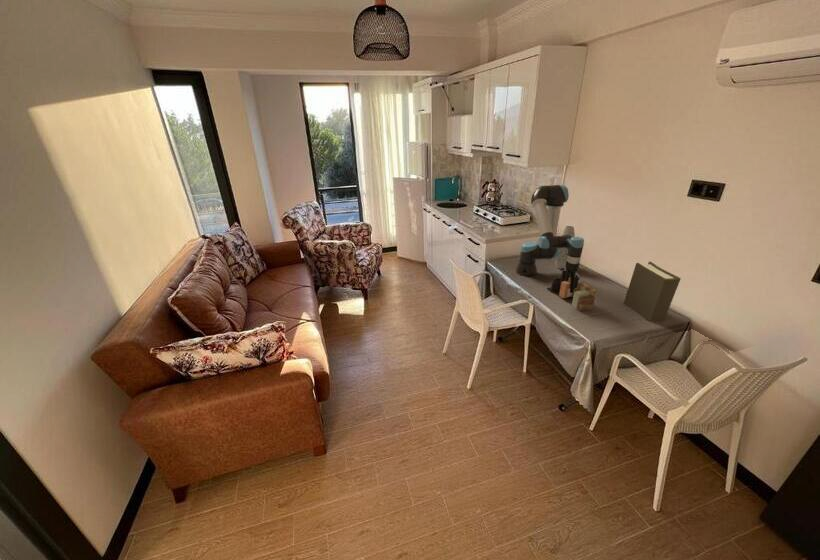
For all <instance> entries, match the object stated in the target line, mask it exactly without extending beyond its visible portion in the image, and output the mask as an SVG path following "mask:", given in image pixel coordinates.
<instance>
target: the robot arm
mask: <svg viewBox="0 0 820 560" xmlns="http://www.w3.org/2000/svg"><path fill="white" fill-rule="evenodd" d="M569 196H570V193H569V189H568V187H567V186H566V185H565V184H553V185H552V184H551V185H541V186H538V187H537V188H536V189H535V190H534V191H533V193H532V195H531V198H530V204H531V207H532V208H533V209H534V214H535V216H536V217H535V218H536V221H537V227H538V231H539V234H540V237H539V238H538V241H537V242H536V241H532V240H531V241H526V242H523V243H522V244H521V246H520V252H519V262H518V263H517V265H516V268H515V272H516V273H517V274H518V275H520V276H525V277H532V276H535V275H537V273H538V270H537V264H536V262H537V260H554V259H555V258H556V257H557V256H558V254H559V248H567V249H568V256H567V262H566V267H564V268H562V269H561V270H562V271H561V277H562V278H561V282H563V281H568V280H569V277H570V287H569V290H568V295H567V298H570V297H571V298H572V297H573V296H572V293H573V290H574V289H575V288H577V285H578V281H580V277H581V274H578V270H579V269H580V263H581V258H582V253H583V249H584V245H585V239H584V238H583V237H580V236H575V237H573V236H571V235H569V234H564V235H557V232H558V226H559V220H560V214H561V208H562V207H564V205H565V203H567V202H568V200H569Z"/></svg>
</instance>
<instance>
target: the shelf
mask: <svg viewBox="0 0 820 560" xmlns="http://www.w3.org/2000/svg"><path fill="white" fill-rule="evenodd" d="M569 280H570V277H569ZM580 290H587V291H589V292H590V295H589V296H585V297H581V298H578V303H577V307H576V308H575V310H576V311H578V312H583V311H584V312H585V311H589V310H593V308H594V305H595V299H596V295H597V294H596V292H597V289H596V288H595V289H594V287H591V286H590V285H588V284H586V283H584V282H582V281H581V280H579V281H578V285H577V288H575V292H576V291H580Z"/></svg>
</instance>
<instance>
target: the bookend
mask: <svg viewBox="0 0 820 560" xmlns="http://www.w3.org/2000/svg"><path fill="white" fill-rule="evenodd" d="M561 278H562V276H556V277H553V278H552V281H551V286H549V287H546V289H547V290H548V291H550V292H551V293H555V292H560V288H561Z"/></svg>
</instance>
